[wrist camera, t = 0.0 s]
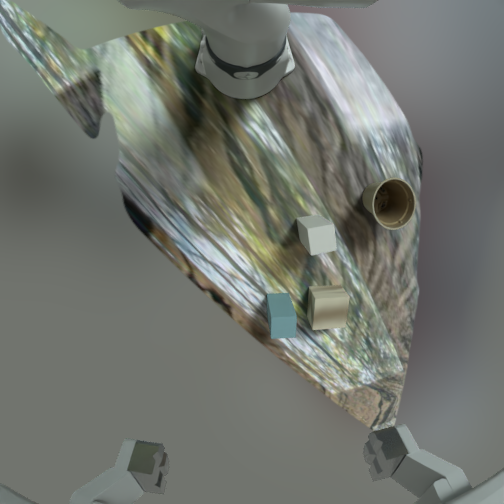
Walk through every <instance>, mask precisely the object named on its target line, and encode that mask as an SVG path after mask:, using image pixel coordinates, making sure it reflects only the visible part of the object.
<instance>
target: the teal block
mask: <svg viewBox="0 0 504 504" xmlns="http://www.w3.org/2000/svg"><path fill="white" fill-rule="evenodd" d="M267 317H268V323H269V329H270V335H271V339H274V338H293V337H296V322H297V315H296V312H295V310H294V307H293V304H292V301H291V298H290V296H289V293H278V294H267Z"/></svg>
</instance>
